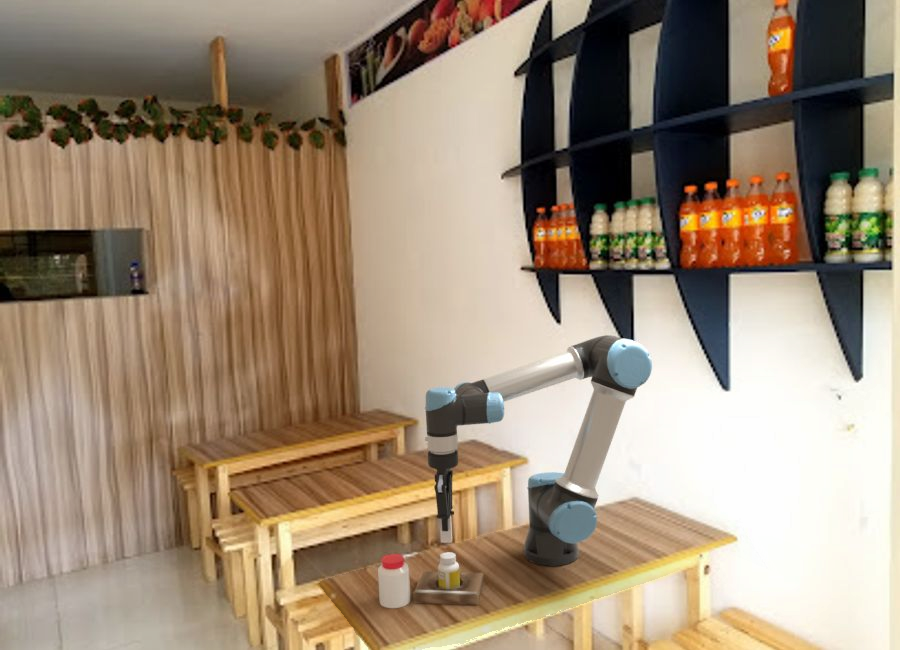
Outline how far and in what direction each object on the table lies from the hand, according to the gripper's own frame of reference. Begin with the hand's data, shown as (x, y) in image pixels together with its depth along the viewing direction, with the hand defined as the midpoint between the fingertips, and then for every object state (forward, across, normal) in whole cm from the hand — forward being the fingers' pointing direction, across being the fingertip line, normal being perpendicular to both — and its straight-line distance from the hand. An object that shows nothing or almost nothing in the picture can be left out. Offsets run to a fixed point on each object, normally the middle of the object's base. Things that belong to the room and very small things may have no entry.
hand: (446, 541), depth 179 cm
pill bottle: (+14, +5, -13) cm, 19 cm away
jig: (+13, 0, 0) cm, 13 cm away
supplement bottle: (+14, 0, 0) cm, 14 cm away
